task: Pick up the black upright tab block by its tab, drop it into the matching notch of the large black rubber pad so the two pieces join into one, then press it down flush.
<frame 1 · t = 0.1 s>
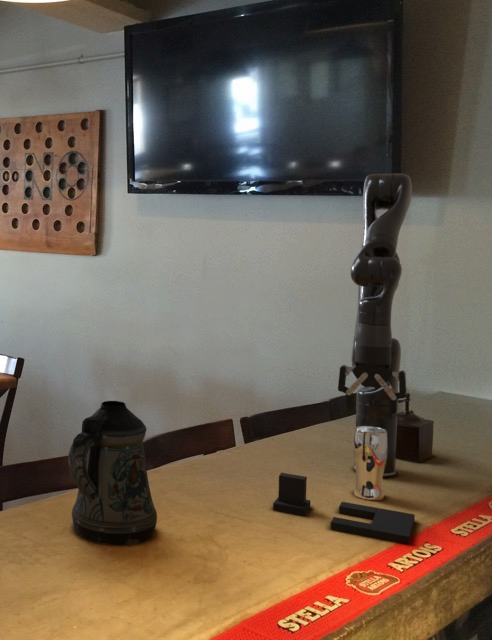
hand: (370, 413, 186), 17 cm above the table, tool pointing down, fingers open, 8 cm apart
brown coffee grinder: (396, 453, 216), on the table
beer stein: (112, 533, 156), on the table
large pad: (373, 525, 162), on the table
black upright tab block: (291, 508, 171), on the table
beer glass: (368, 496, 180), on the table
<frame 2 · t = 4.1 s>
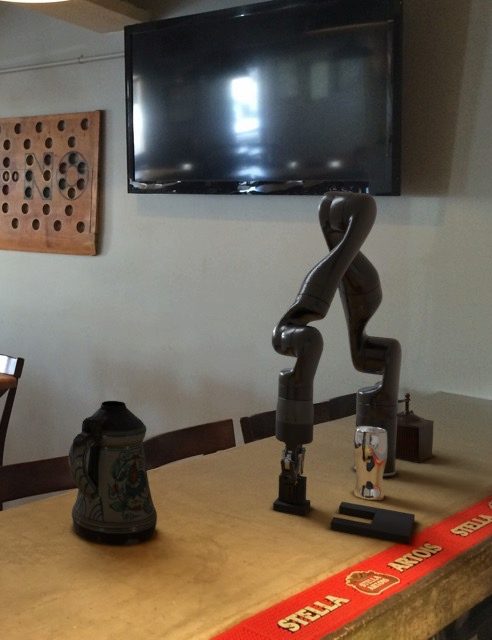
hand: (292, 498, 171), 2 cm above the table, tool pointing down, fingers closed on black upright tab block, 2 cm apart
black upright tab block: (291, 508, 171), on the table, touching gripper
everything else where it was.
when the fingers open (2 cm above the table, at t = 10.8 s): black upright tab block stays where it is, on the table.
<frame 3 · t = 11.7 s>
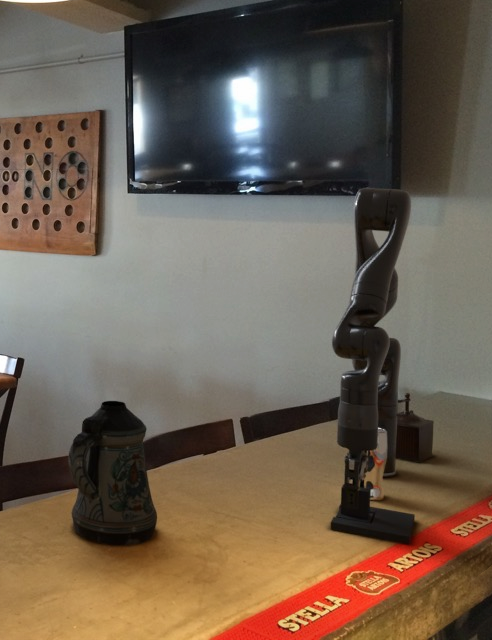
hand: (354, 502, 164), 4 cm above the table, tool pointing down, fingers open, 8 cm apart
black upright tab block: (354, 522, 164), on the table
everything else where it was.
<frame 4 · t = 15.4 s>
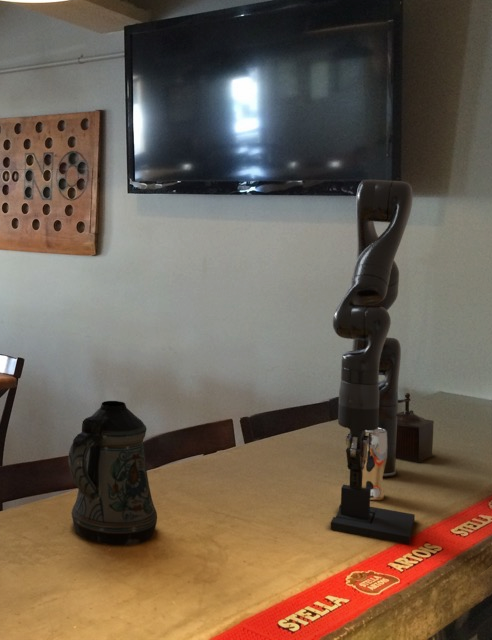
hand: (355, 488, 164), 7 cm above the table, tool pointing down, fingers closed
black upright tab block: (354, 522, 164), on the table, touching gripper
everything else where it was.
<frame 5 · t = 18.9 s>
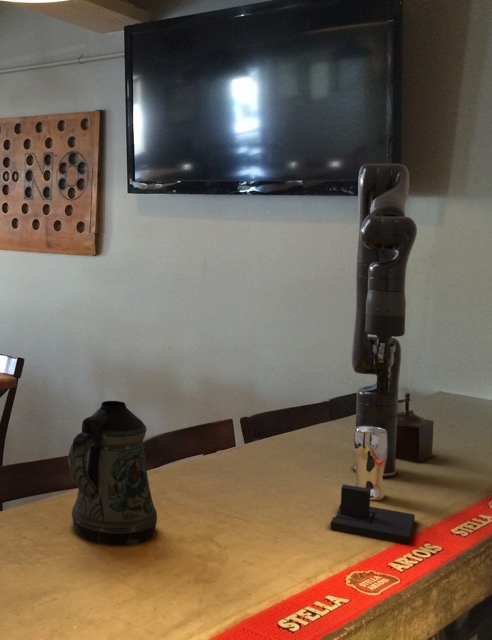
hand: (382, 394, 169), 25 cm above the table, tool pointing down, fingers closed
black upright tab block: (354, 522, 164), on the table
everything else where it was.
at the end: black upright tab block 0.1 cm from the target spot on the large pad, point 0.0 cm above the large pad's base; black upright tab block tilted 0°; the gripper is holding nothing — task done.
